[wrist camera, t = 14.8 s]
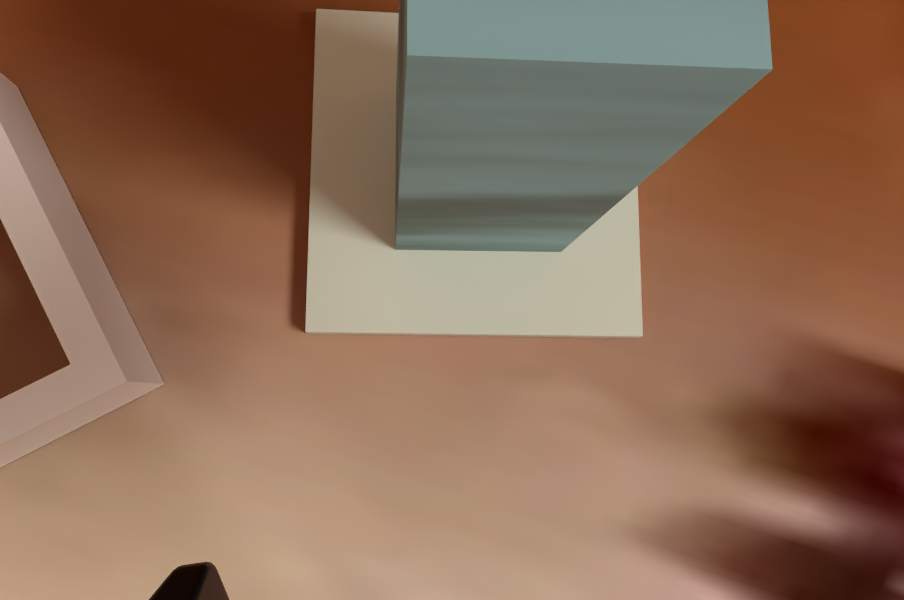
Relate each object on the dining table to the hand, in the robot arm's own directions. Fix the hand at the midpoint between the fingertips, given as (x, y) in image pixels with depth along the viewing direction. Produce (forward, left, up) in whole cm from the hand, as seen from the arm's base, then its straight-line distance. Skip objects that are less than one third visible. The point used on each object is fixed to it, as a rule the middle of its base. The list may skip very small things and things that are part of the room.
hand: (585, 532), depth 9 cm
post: (+7, +5, -12) cm, 15 cm away
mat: (+7, +5, -13) cm, 15 cm away
